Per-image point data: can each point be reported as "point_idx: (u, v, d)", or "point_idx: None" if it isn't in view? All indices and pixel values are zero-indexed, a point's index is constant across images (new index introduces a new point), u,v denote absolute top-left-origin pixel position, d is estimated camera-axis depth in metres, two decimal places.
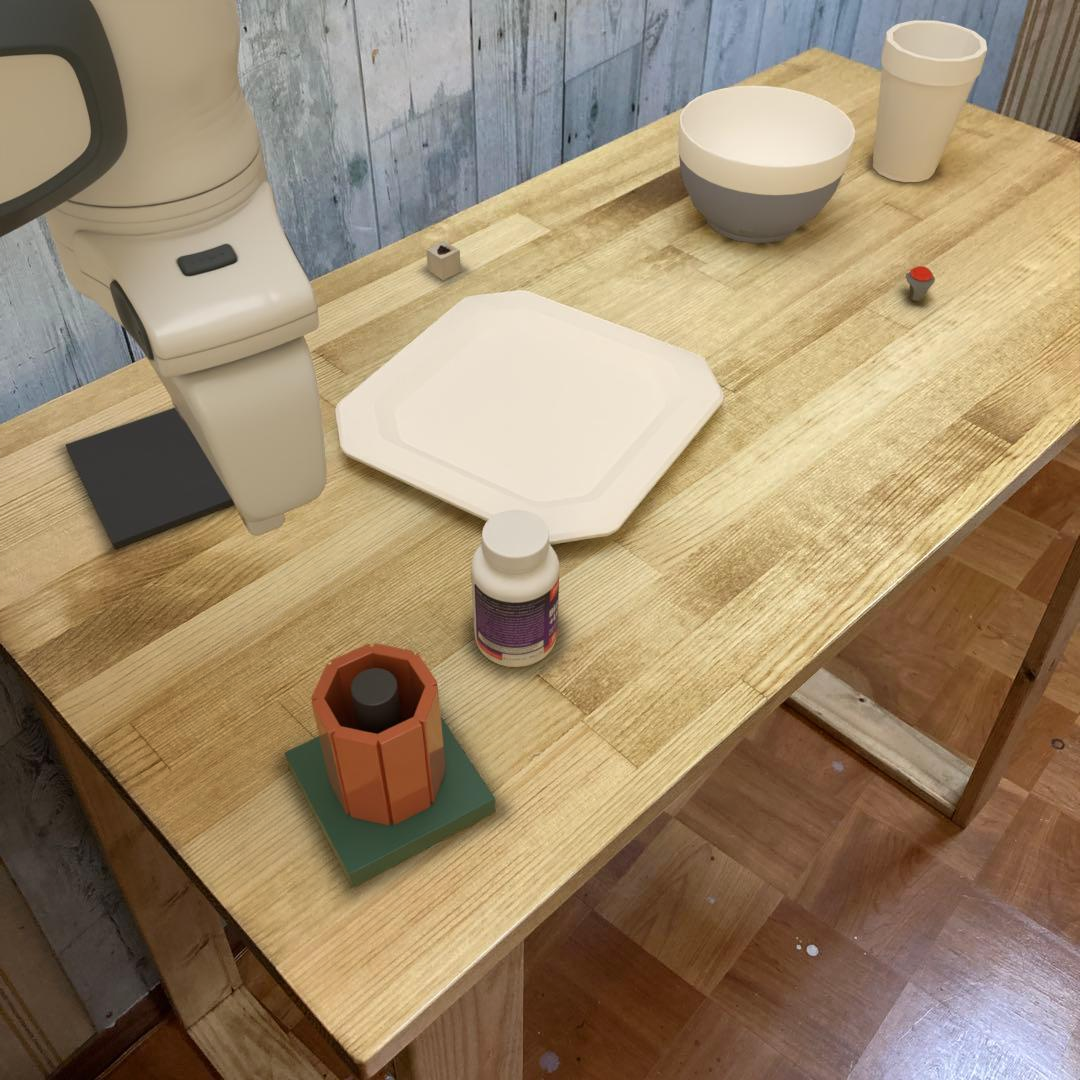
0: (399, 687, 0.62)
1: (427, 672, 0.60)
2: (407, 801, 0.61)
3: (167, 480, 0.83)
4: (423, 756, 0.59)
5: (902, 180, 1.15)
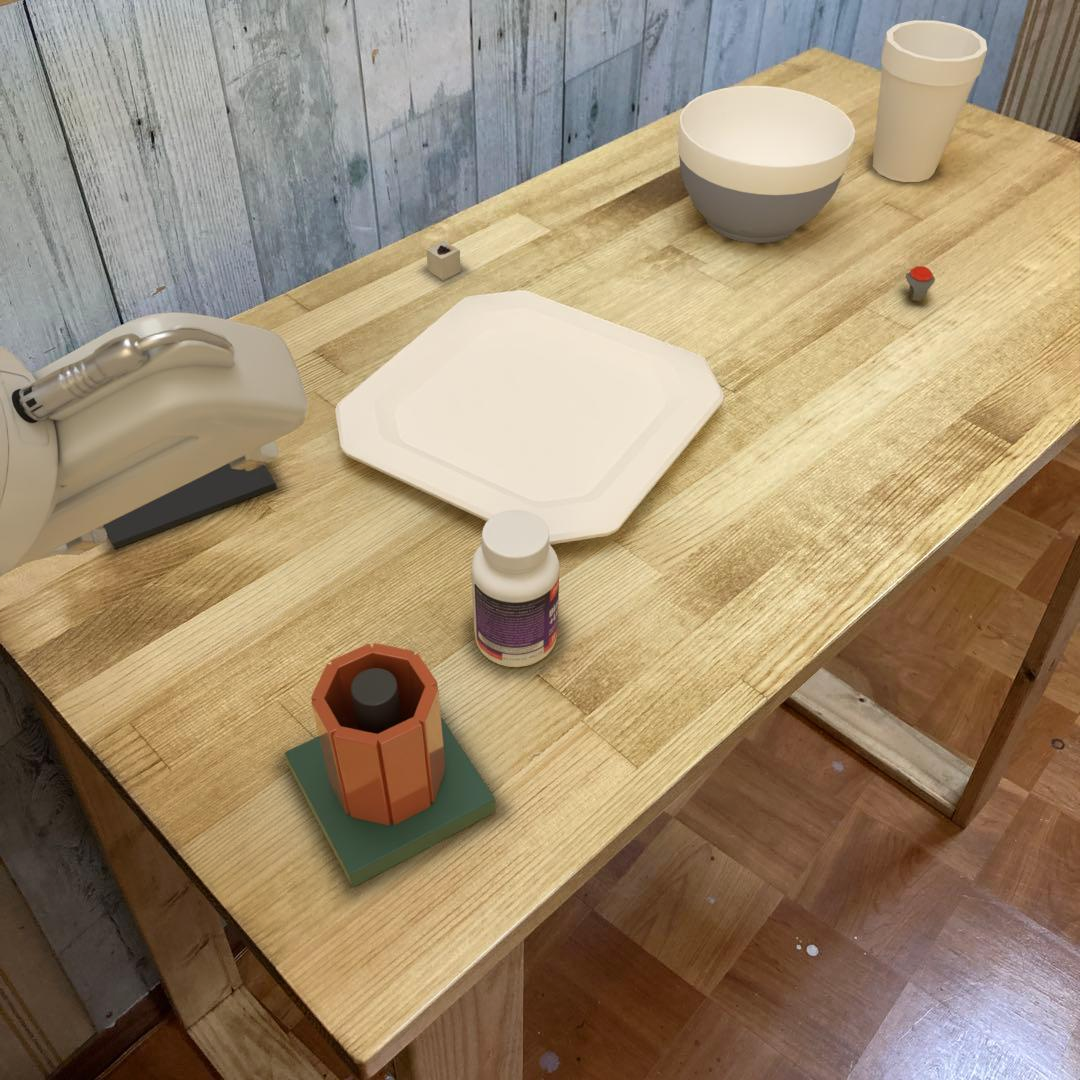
0: (399, 687, 0.62)
1: (427, 672, 0.60)
2: (407, 801, 0.61)
3: None
4: (423, 756, 0.59)
5: (902, 180, 1.15)
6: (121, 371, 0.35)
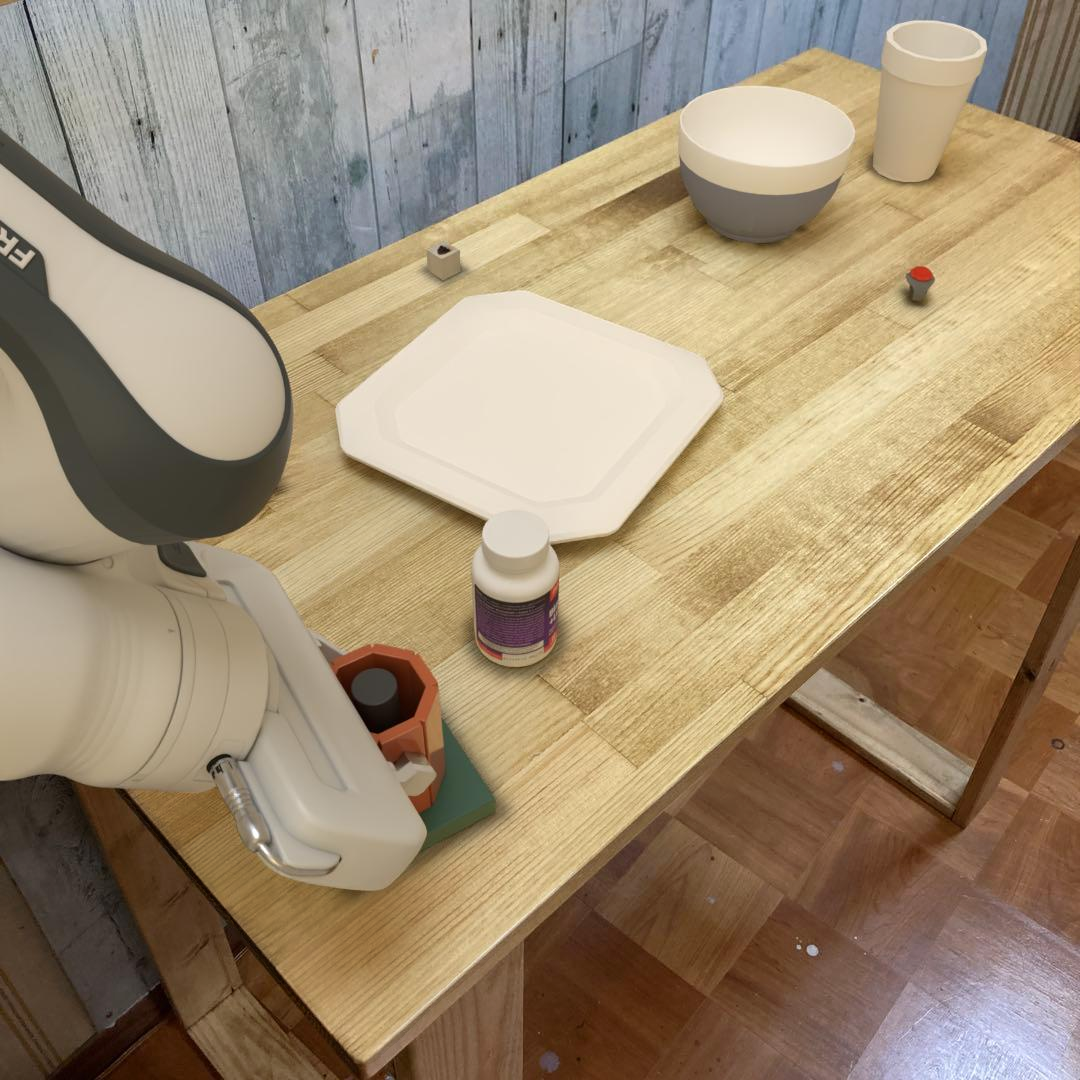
0: (399, 687, 0.62)
1: (428, 672, 0.60)
2: None
3: None
4: None
5: (902, 180, 1.15)
6: (242, 840, 0.46)
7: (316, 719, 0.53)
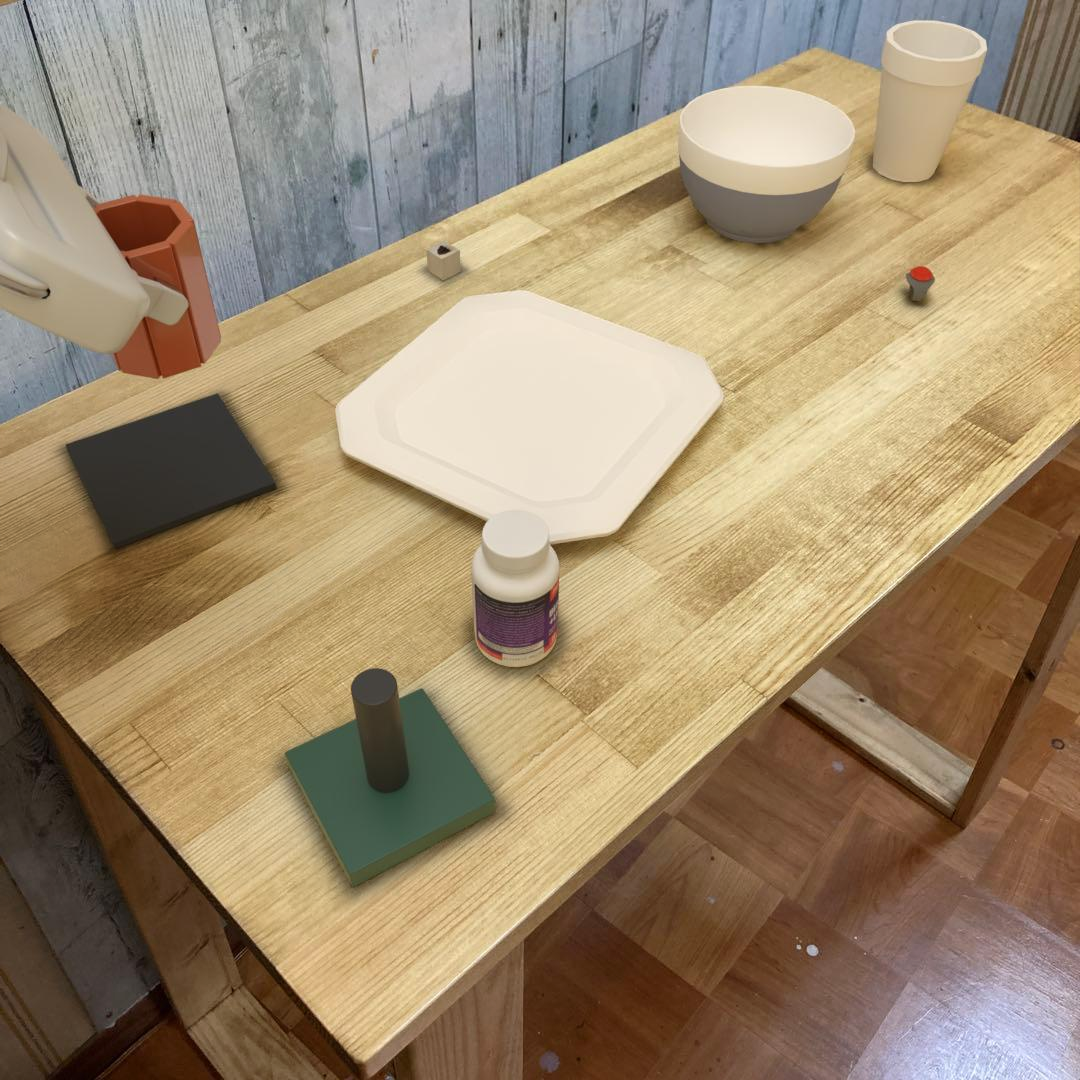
0: None
1: (185, 212, 0.62)
2: (172, 349, 0.64)
3: (167, 480, 0.83)
4: None
5: (902, 180, 1.15)
6: None
7: (49, 203, 0.56)
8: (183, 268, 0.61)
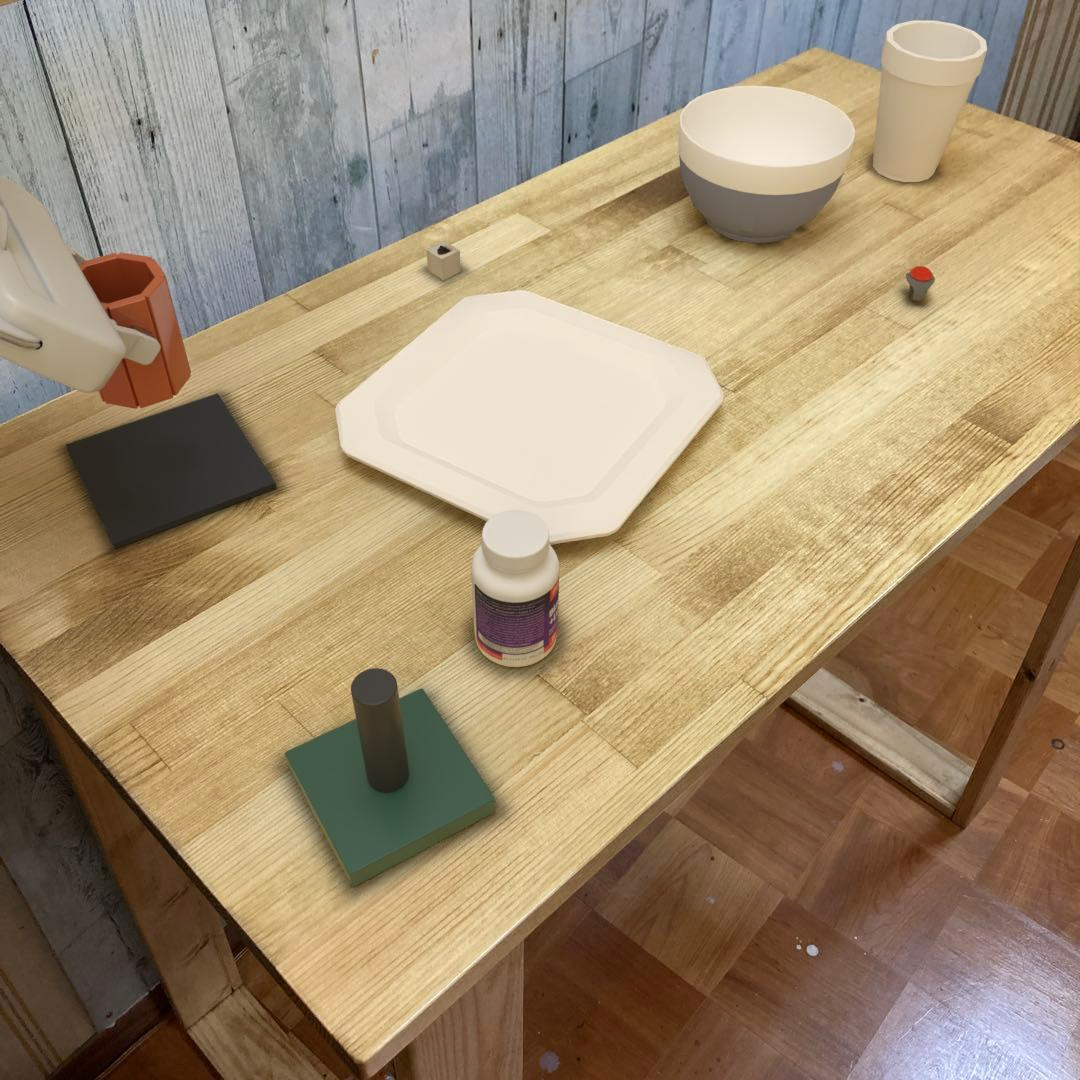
0: None
1: (158, 269, 0.73)
2: (148, 383, 0.75)
3: (167, 480, 0.83)
4: (154, 335, 0.73)
5: (902, 180, 1.15)
6: None
7: (42, 267, 0.67)
8: (156, 316, 0.73)
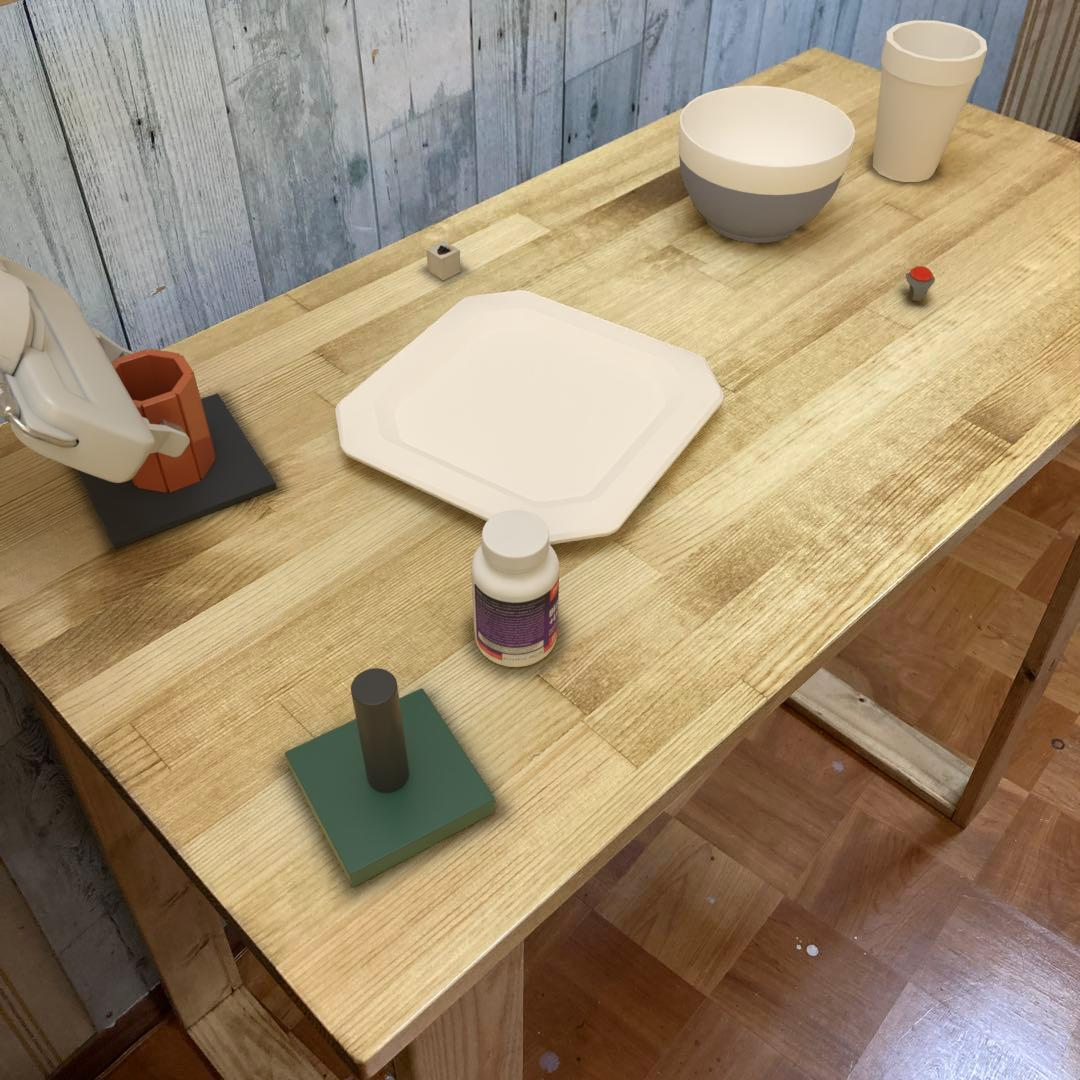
0: (173, 387, 0.82)
1: (186, 365, 0.79)
2: (177, 470, 0.81)
3: None
4: (183, 427, 0.79)
5: (902, 180, 1.15)
6: None
7: (76, 365, 0.72)
8: (185, 410, 0.78)
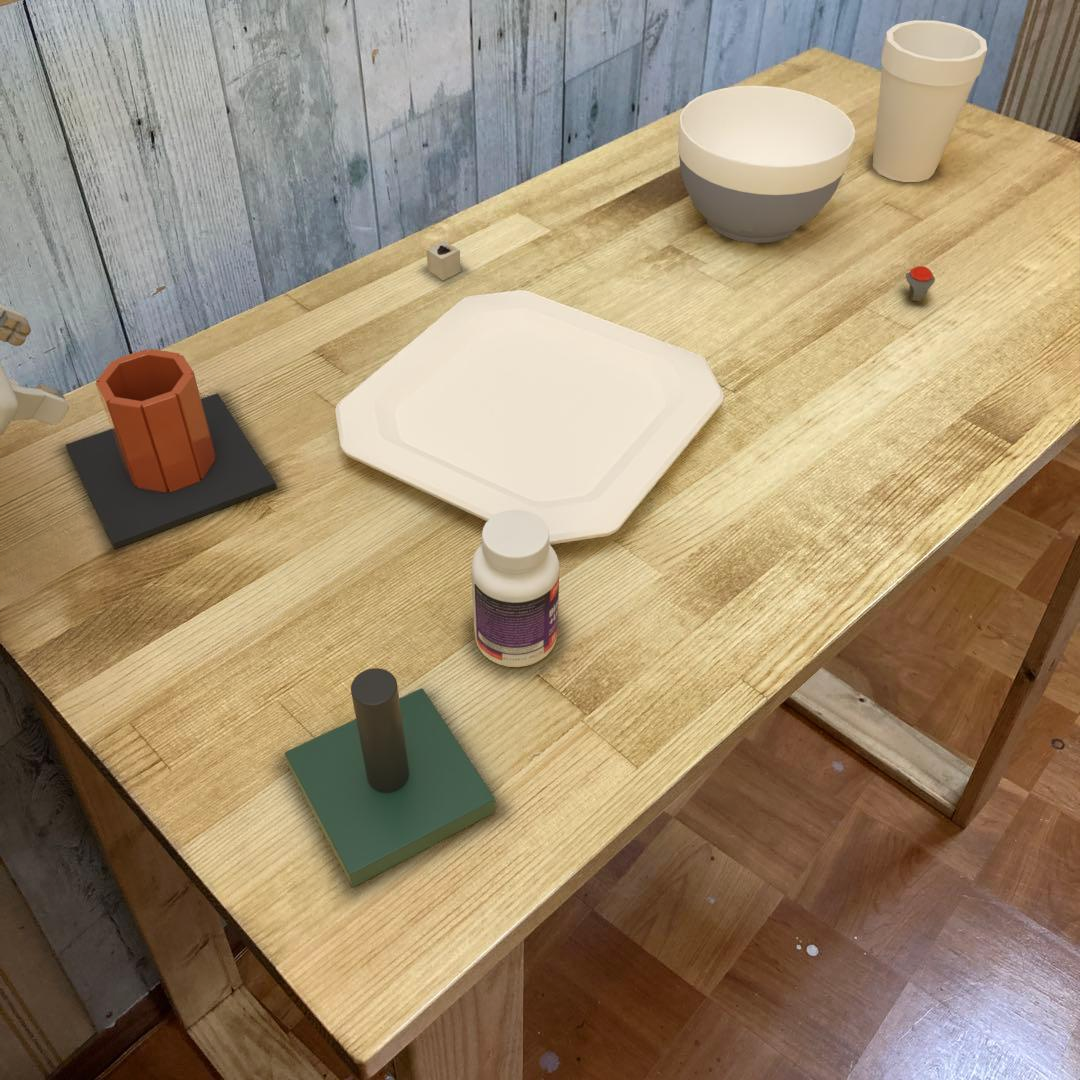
0: (173, 387, 0.82)
1: (186, 365, 0.79)
2: (177, 470, 0.81)
3: None
4: (183, 427, 0.79)
5: (902, 180, 1.15)
6: None
7: None
8: (185, 410, 0.78)
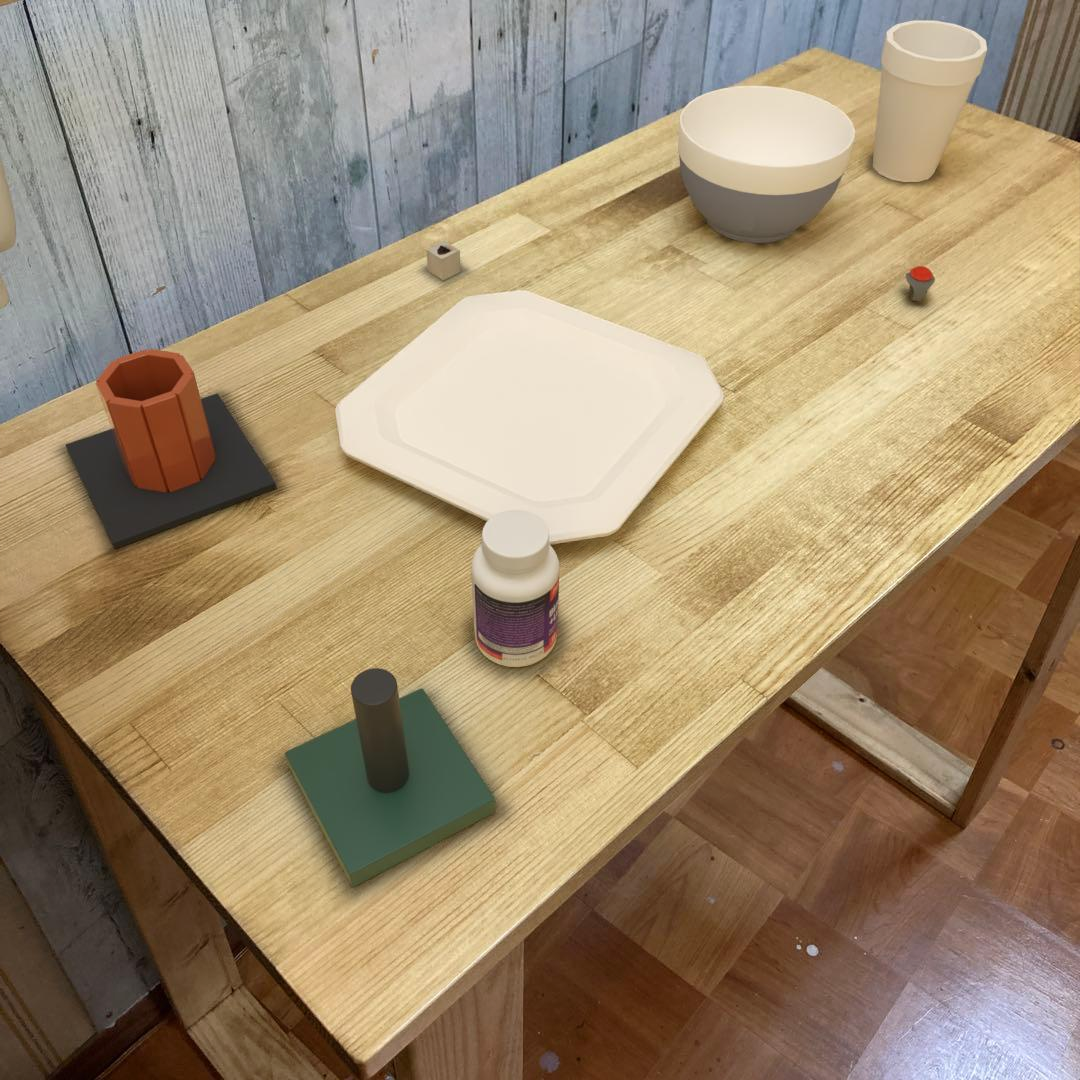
0: (173, 387, 0.82)
1: (186, 365, 0.79)
2: (177, 470, 0.81)
3: None
4: (183, 427, 0.79)
5: (902, 180, 1.15)
6: None
7: None
8: (185, 410, 0.78)
